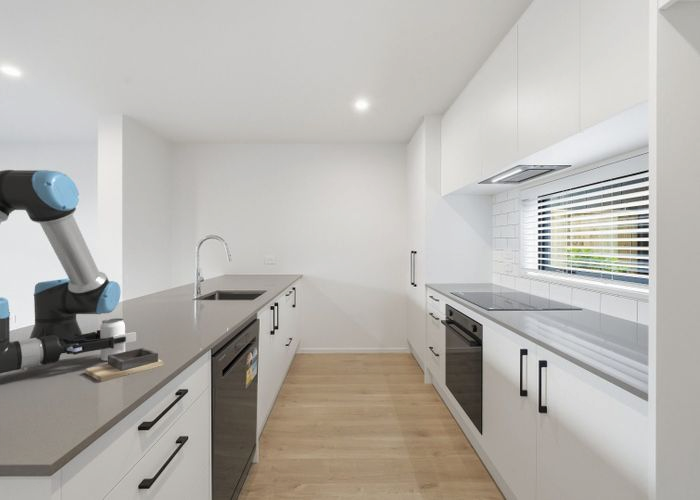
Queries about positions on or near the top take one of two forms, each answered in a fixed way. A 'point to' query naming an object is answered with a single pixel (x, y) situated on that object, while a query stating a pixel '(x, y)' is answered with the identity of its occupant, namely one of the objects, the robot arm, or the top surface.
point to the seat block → (125, 364)
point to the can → (108, 330)
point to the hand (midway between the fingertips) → (129, 334)
